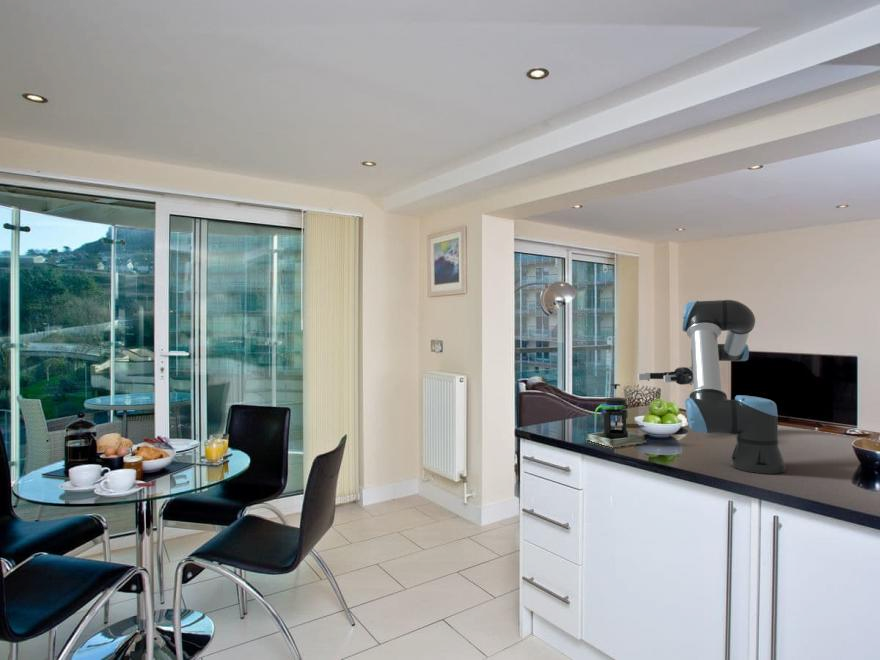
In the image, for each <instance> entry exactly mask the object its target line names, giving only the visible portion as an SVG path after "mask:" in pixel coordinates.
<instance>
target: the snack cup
mask: <svg viewBox="0 0 880 660" xmlns="http://www.w3.org/2000/svg"><path fill="white" fill-rule="evenodd" d="M623 408H624V410H627V411H628V409H627V407H626V406H625V405H616V409H622V410H623ZM607 409H615V405H607V404H606V402H604V403H600V404H599V405H598V406H597V407H596V408H595V411H594V418H595V420H598V414H597V413H598V410H599V411H600V412H601V413H600V414H601V418H602V423H603V425H604V412H605V410H607ZM628 416H629V413H628V414H627V415H626V419H628ZM610 417H611V422H615V421H616V416H613V415H610ZM621 420H622V416H617V422H618V423H621Z"/></svg>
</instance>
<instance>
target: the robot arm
mask: <svg viewBox="0 0 880 660" xmlns="http://www.w3.org/2000/svg"><path fill="white" fill-rule="evenodd" d="M755 325H756V317H755V314H754V313H753V311H752V309H750V308H749V307H748V306H747V305H746V304H744V303H742V302H740V301H737V300H733V299H724V300H722V299H720V300H718V299H717V300H695V301H688V302H686V303H685V304H684V308H683V315H682V328H681V329H682V332H685V333H686V335H687V336H688V337H689V338H690V339H691V346H690V347H691V348H690V352H691V366H684V367H683V366H682V367H677V368H675V369H674V371H668V372H666V371H665V372H645V373H637V381H646V380H647V381H648V382H649V381H650V380H663V383H674V382H675V383H676V384H678V385H681V386H682V385H690V386H693V390H692V391H691V392H690V393H689V395H688V396H689V397H687V398H685V399H684V404H685V410H686V412H685V413H686V418H687V423H688V426H689V429H690V430H691V431H692V432H694V433H697V434H698V433H700V434H704V435H706V434H711V435H713V434H714V435H733V436H735V435H736V436H735V437H736V444H735V447H734V449H733V452H732V456H731V457H730V458H731V459H730V462H731V463H730V465H731V467H733V468H734V469H736V468H737V470H741V471H743V472H748V473H754V472H755V473H756V474H769V475H770V474H771V475H773V474H781V473H784V472H786V463H785V461H784V458H783V455H782V452H781V450H780V447H779V429H778V428H779V427H778V424H779V423H778V417H779V414H778V407H777V406H778V405H777V404H776V402H775V401H773V400H771V399H768V398H765V397H764V398H763V397H759V396H750V395H745V394H744V395H740V394H739V395H738V394H737V395H736V396H735V397H734V399H728V396H727V393H726V392H724V391H723V390H722V383H721V382H722V381H721V369H720V362H746V361H748V360H749V357H750V355H749V354H750V350H749V349H750V348H749V345H748V344H747V342H748V341H747V340H748V338H749V335H750V333H751V332H752V331H753V330H754V327H755ZM725 331H726V334H725V335H726V337H725V339H724V343H718V337H720V335H721V334H722V332H725Z"/></svg>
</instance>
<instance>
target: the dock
mask: <svg viewBox="0 0 880 660" xmlns="http://www.w3.org/2000/svg"><path fill="white" fill-rule="evenodd" d="M627 432H628V437H626V438H619V439H612V440H611V439H607V438H605V434H604V431H600V432H593V433H586V438H584V440H585V439H586V440H590V441H592V442H595V443H599V444H602V445H605V446H609V447H612V448H613V447H619V448H622V447H621V446H626V447H630V446H629V445H633V446H637V445H636V444H639V445H644V444H643V443H646V444H647V440H645V435H643V434H638V433H634V432H629V431H627ZM605 446H604V447H605ZM609 447H608V448H609ZM612 448H611V449H612ZM613 449H614V448H613Z"/></svg>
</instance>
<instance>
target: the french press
mask: <svg viewBox="0 0 880 660" xmlns="http://www.w3.org/2000/svg"><path fill="white" fill-rule="evenodd" d="M610 386H612V387H613V389H614V396H613V397H611V396H610V397H606V398H604V400H605V403H606V404H607V405H615V409H607V410H605V412H604V424H603V432H604V434H605V438H607V439H611V440H612V439H619V438H626V437H628V432H629V431H628V430H627V426H628V424H627V418H626V415H627V414H628V415H629V412H628V409H627V410H625V409H623V408H622V409H616V405H623V406H626V405H627V401H628V398H625V397H618V396H617V389H618V387H617V386H619V387H620V386H621V384H619V383H611V384H610ZM610 415H613V416H616V421H615V422H611V417H610ZM617 416H621V422H620V423H618V422H617ZM612 428H621V429H612Z"/></svg>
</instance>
